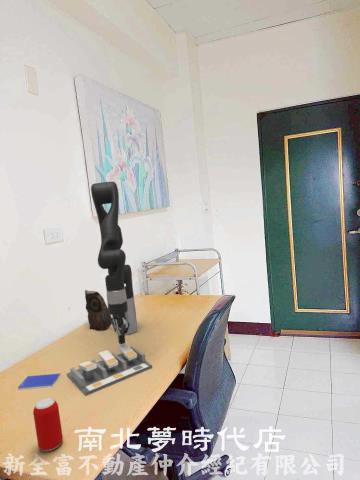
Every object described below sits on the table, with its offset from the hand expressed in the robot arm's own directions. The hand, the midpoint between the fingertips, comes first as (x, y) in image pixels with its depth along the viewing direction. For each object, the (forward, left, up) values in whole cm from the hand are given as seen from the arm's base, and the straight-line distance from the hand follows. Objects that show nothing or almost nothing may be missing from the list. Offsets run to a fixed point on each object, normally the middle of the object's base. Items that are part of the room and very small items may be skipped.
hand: (122, 343), depth 136 cm
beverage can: (+30, -37, -8) cm, 48 cm away
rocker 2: (+3, 0, -3) cm, 5 cm away
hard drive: (-9, -30, -8) cm, 32 cm away
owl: (-47, +11, -8) cm, 49 cm away
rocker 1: (+3, -16, -3) cm, 17 cm away
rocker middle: (+3, -8, -3) cm, 9 cm away
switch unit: (+3, -8, -8) cm, 11 cm away
